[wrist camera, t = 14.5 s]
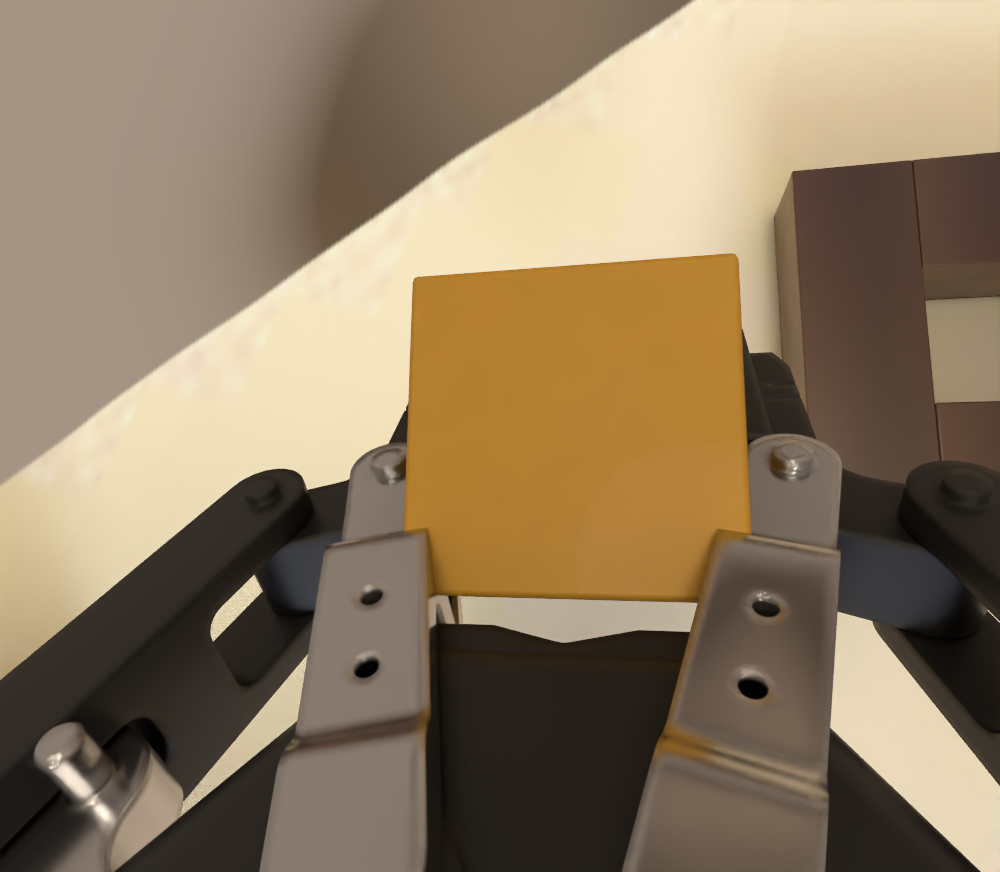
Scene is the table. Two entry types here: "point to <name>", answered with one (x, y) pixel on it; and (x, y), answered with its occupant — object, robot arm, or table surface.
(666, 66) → the table surface
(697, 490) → the ochre peg
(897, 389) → the walnut stand
